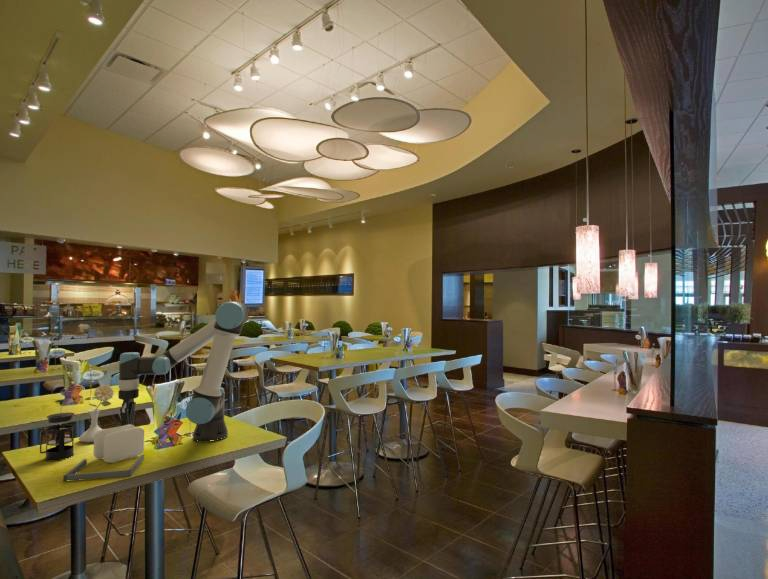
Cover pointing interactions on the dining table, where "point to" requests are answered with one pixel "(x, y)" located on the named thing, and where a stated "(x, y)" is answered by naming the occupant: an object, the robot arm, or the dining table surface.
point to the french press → (59, 436)
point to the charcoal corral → (106, 474)
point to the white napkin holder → (119, 443)
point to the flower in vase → (97, 412)
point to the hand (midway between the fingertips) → (127, 444)
